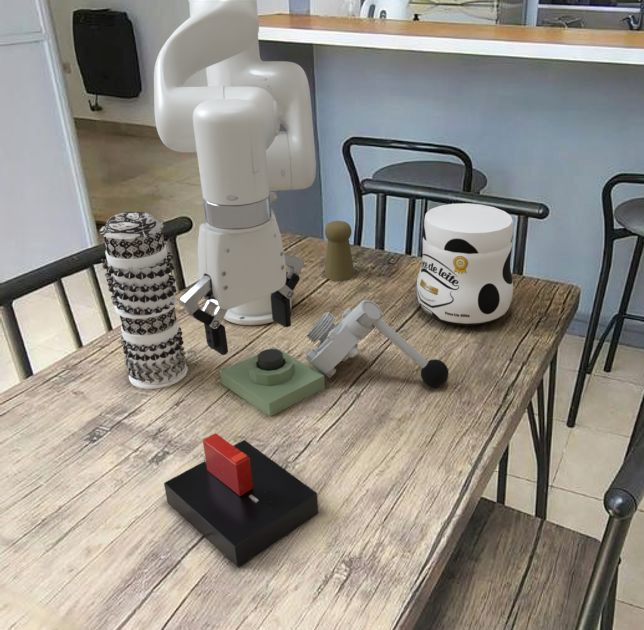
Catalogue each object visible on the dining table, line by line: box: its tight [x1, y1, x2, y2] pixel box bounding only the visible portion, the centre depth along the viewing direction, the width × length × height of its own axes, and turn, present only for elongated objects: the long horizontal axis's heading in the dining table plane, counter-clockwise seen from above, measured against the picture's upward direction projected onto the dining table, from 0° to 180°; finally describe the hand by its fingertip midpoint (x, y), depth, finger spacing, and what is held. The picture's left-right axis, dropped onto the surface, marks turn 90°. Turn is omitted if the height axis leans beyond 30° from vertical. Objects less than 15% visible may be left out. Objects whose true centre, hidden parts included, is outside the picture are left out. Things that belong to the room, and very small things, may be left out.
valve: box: [304, 299, 450, 388], centre depth 103 cm, size 10×20×15 cm
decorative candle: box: [99, 211, 189, 390], centre depth 98 cm, size 9×9×25 cm
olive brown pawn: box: [324, 220, 355, 282], centre depth 135 cm, size 6×6×11 cm
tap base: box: [163, 439, 319, 568], centre depth 78 cm, size 14×11×3 cm
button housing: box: [219, 346, 326, 417], centre depth 100 cm, size 12×10×4 cm
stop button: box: [257, 348, 284, 371], centre depth 99 cm, size 4×4×2 cm
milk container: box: [415, 202, 514, 327], centre depth 120 cm, size 17×17×18 cm
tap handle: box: [202, 432, 253, 496], centre depth 78 cm, size 6×2×5 cm, turn 49°
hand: (251, 336), depth 88 cm, fingers open, 9 cm apart
